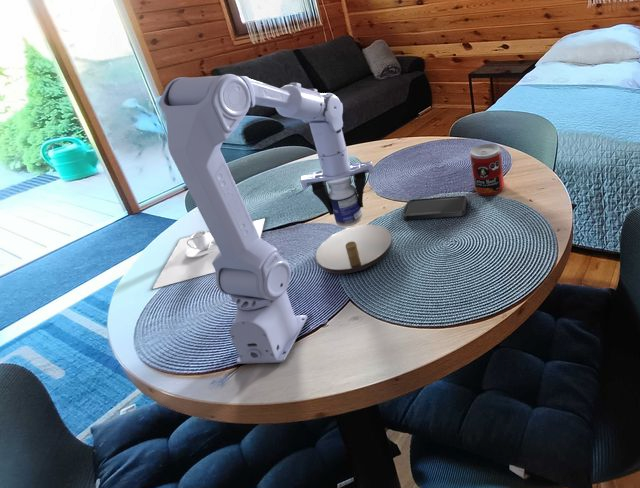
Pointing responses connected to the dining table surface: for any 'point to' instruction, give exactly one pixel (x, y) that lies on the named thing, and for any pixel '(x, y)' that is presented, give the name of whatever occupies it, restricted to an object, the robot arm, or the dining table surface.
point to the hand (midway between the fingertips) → (346, 208)
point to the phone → (435, 207)
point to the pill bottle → (344, 202)
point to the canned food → (487, 169)
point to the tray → (365, 245)
